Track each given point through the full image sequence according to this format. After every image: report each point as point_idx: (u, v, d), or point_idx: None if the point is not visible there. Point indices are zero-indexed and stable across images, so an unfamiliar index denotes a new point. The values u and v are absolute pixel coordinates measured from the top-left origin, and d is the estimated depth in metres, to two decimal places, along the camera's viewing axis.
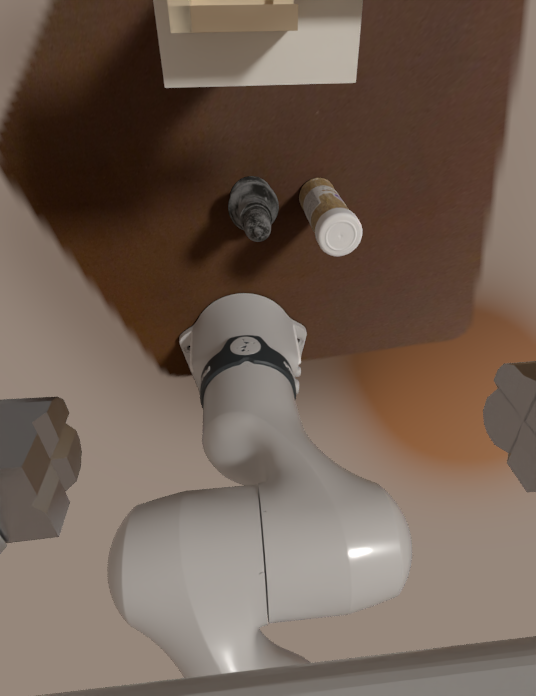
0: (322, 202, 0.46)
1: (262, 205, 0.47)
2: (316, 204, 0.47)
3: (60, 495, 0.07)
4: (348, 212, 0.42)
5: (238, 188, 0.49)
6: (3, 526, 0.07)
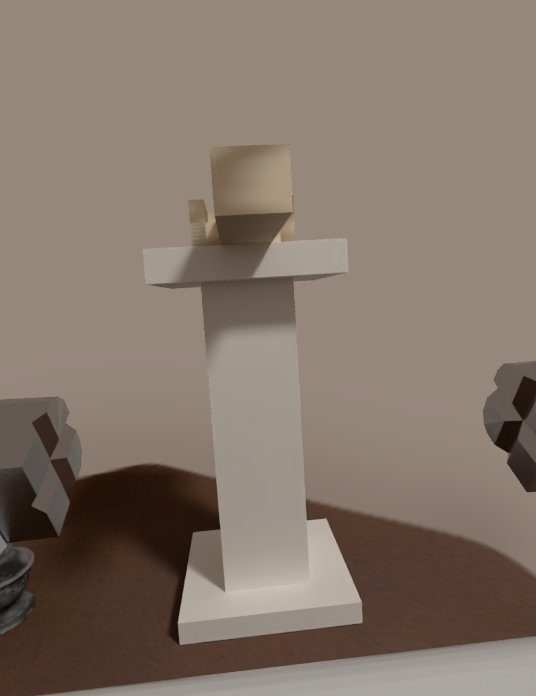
0: None
1: None
2: None
3: (60, 494, 0.07)
4: None
5: (31, 552, 0.33)
6: (3, 526, 0.07)
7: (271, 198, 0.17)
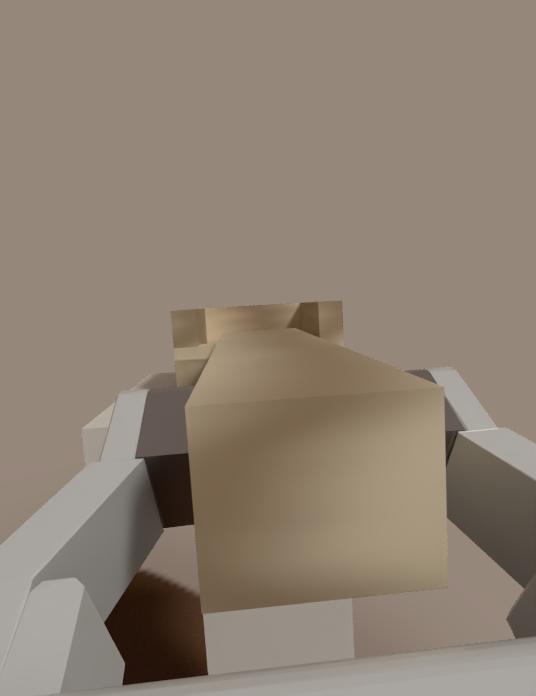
0: None
1: None
2: None
3: None
4: None
5: None
6: (165, 511, 0.07)
7: (382, 553, 0.05)
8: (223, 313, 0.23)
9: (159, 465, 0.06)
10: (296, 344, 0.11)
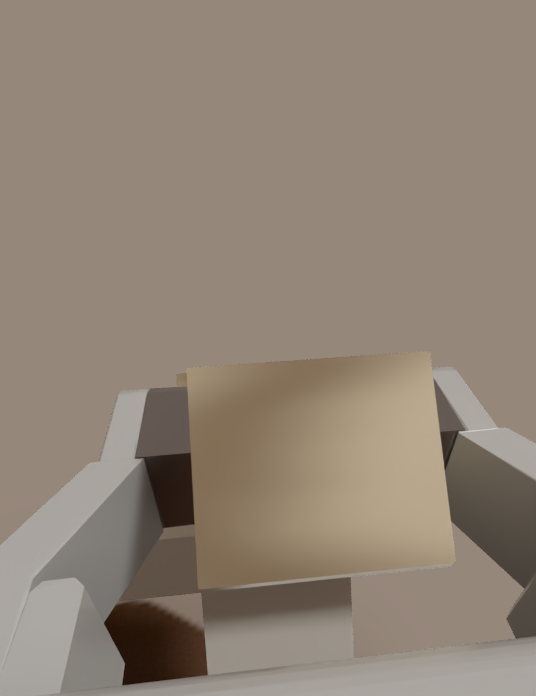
0: None
1: None
2: None
3: None
4: None
5: None
6: (165, 511, 0.07)
7: (384, 521, 0.05)
8: None
9: (159, 465, 0.06)
10: None
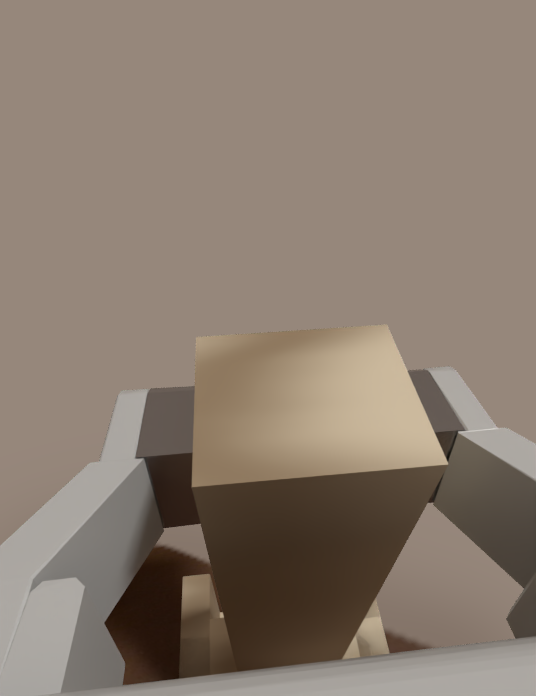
0: None
1: None
2: None
3: None
4: None
5: None
6: (165, 511, 0.07)
7: (369, 430, 0.05)
8: None
9: (159, 465, 0.06)
10: None
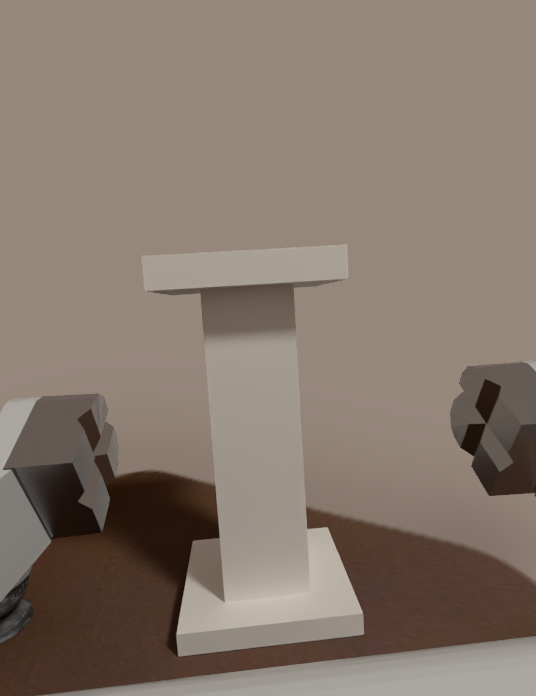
0: None
1: None
2: None
3: (102, 491, 0.07)
4: None
5: None
6: (49, 522, 0.07)
7: None
8: None
9: (30, 476, 0.06)
10: None
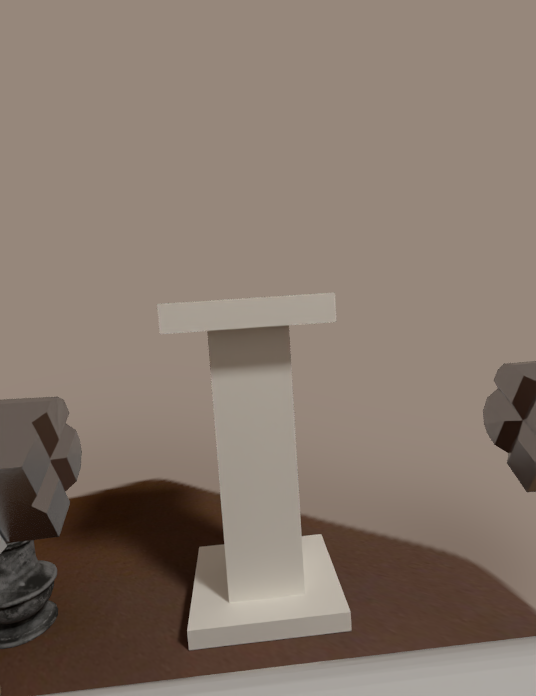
0: None
1: None
2: None
3: (60, 495, 0.07)
4: None
5: (54, 566, 0.37)
6: (3, 526, 0.07)
7: None
8: None
9: None
10: None
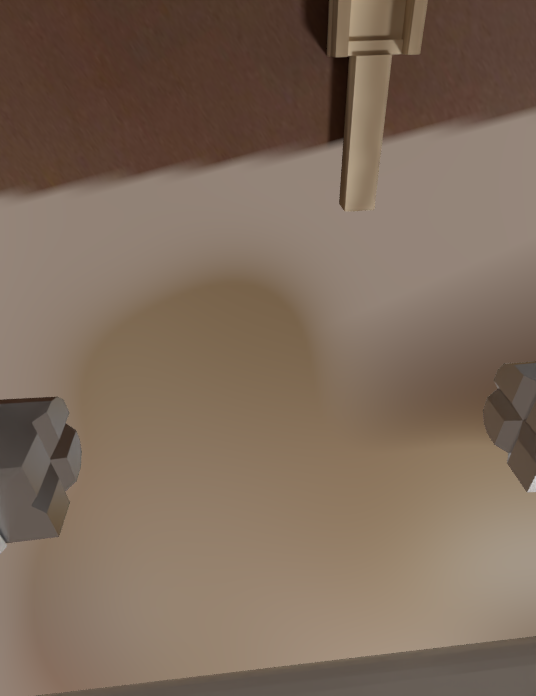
0: None
1: None
2: None
3: (60, 495, 0.07)
4: None
5: None
6: (3, 526, 0.07)
7: None
8: None
9: None
10: (372, 144, 0.40)
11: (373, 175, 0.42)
